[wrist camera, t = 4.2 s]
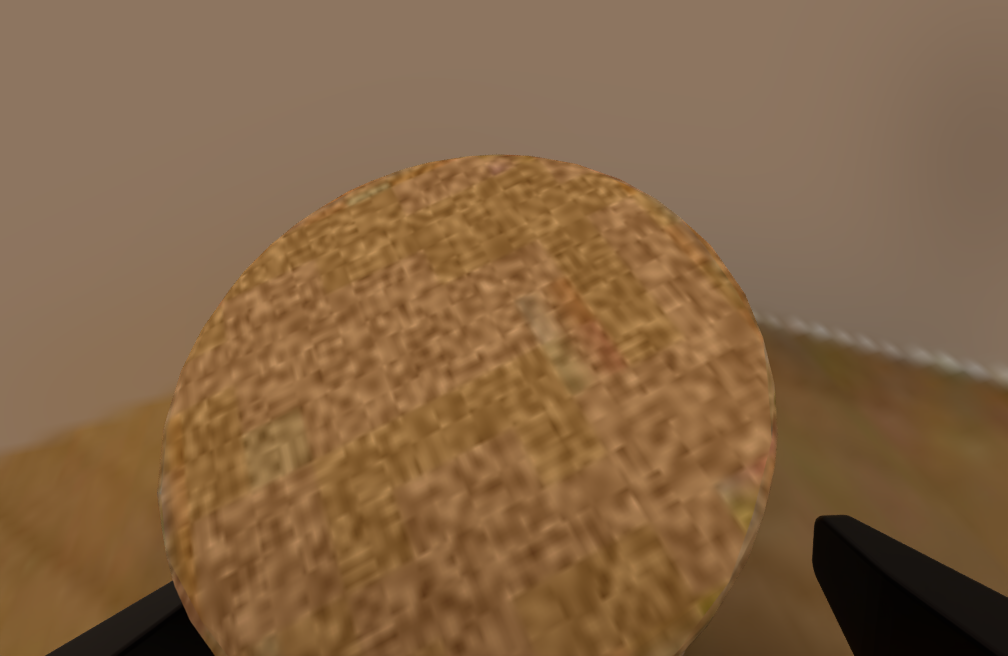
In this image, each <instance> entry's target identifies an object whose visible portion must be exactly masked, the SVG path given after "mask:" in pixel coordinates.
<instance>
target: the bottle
mask: <svg viewBox="0 0 1008 656" xmlns="http://www.w3.org/2000/svg"><path fill="white" fill-rule="evenodd" d="M777 437H778V431H777V415H776V400H775V385H774V381H773V377H772V373H771V369H770V365H769V361H768V356H767V352H766V348H765V344H764V340H763V337H762V334H761V332H760V329H759V327H758V324H757V322H756V320H755V317H754V315H753V312H752V310H751V308H750V305H749V303H748V300H747V298H746V295H745V294H744V292H743V291H742V289H741V288H740V286H739V285H738V283H737V282H736V281H735V279H734V278H733V276H732V275H731V273H730V272H729V271H728V269H727V268H726V266H725V265H724V263H723V262H722V260H720V258H719V256H718V255H717V254H716V253H715V251H714V249H713V248H712V247H711V245H709V244H708V243H707V242H706V241H705V240H704V239H703V238H702V237H701V236H700V235H699V234H698V233H696V232H695V231H694V230H693V229H692V228H691V227H690V226H689V225H688V224H686V223H685V222H684V221H683V220H682V219H681V218H680V217H679V216H677V215H676V214H675V213H673V212H672V211H671V210H669V209H668V208H667V207H666V206H664V205H663V204H661V202H659V201H658V200H657V199H655V198H653V197H652V196H650V195H648V194H646V193H644V192H642V191H640V190H639V189H637V188H635V187H633V186H631V185H629V184H627V183H626V182H624V181H622V180H620V179H617V178H614V177H612V176H609V175H606V174H603V173H600V172H598V171H595V170H592V169H589V168H586V167H583V166H581V165H578V164H573V163H567V162H562V161H557V160H551V159H545V158H540V157H533V156H520V155H480V156H467V157H460V158H454V159H447V160H441V161H435V162H429V163H426V164H422V165H418V166H414V167H411V168H406V169H403V170H400V171H397V172H394V173H392V174H389V175H386V176H384V177H381V178H378V179H376V180H373V181H370V182H368V183H366V184H364V185H361V186H359V187H357V188H355V189H353V190H350V191H348V192H347V193H345V194H343V195H341V196H340V197H338V198H336V199H335V200H333V201H331V202H330V203H328V204H326V205H325V206H323V207H321V208H320V209H318V210H317V211H315V212H313V213H312V214H310V215H309V216H308V217H306V218H304V219H303V220H301V221H300V222H298V223H297V224H296V225H295V226H293V227H292V228H291V229H290V230H288V231H287V232H286V233H285V234H283V235H282V236H281V237H280V238H279V239H277V240H276V241H275V242H273V243H272V244H271V245H270V246H269V247H268V248H267V249H266V250H265V251H264V252H263V253H262V254H261V255H260V256H259V257H258V258H257V259H256V260H255V261H254V262H253V263H252V264H251V265H250V266H249V267H248V268H247V269H246V270H245V271H244V272H243V273H242V275H241V276H240V277H239V279H238V280H237V281H236V282H235V284H234V285H233V286H232V287H231V289H230V290H229V291H228V293H227V294H226V296H225V297H224V299H223V300H222V302H221V303H220V304H219V306H218V307H217V309H216V310H215V311H214V313H213V314H212V316H211V317H210V319H209V320H208V321H207V323H206V324H205V326H204V327H203V329H202V330H201V332H200V334H199V336H198V338H197V340H196V342H195V344H194V346H193V348H192V350H191V352H190V354H189V356H188V358H187V360H186V362H185V364H184V366H183V368H182V370H181V373H180V376H179V379H178V383H177V386H176V389H175V393H174V396H173V399H172V403H171V406H170V409H169V413H168V416H167V420H166V423H165V426H164V430H163V440H162V450H161V460H160V470H159V480H158V490H157V495H158V502H159V510H160V517H161V524H162V531H163V537H164V543H165V549H166V555H167V559H168V563H169V567H170V571H171V574H172V578H173V582H174V586H175V588H176V590H177V593H178V595H179V597H180V599H181V601H182V604H183V606H184V608H185V610H186V612H187V615H188V617H189V619H190V621H191V623H192V624H193V625H194V627H195V628H196V630H197V631H198V632H199V634H200V635H201V637H202V638H203V639H204V641H205V642H206V644H207V645H208V647H209V648H210V649H211V651H212V652H213V654H214V655H215V656H680V655H681V654H682V653H683V652H684V651H685V650H686V648H687V647H688V646H689V645H690V644H691V643H692V642H693V641H694V640H695V639H696V638H697V637H698V636H699V634H700V633H701V632H702V631H703V630H704V629H705V628H706V627H707V625H708V624H709V622H710V621H711V619H712V618H713V616H714V615H715V613H716V612H717V610H718V608H719V607H720V605H721V603H722V602H723V600H724V598H725V597H726V595H727V593H728V592H729V590H730V589H731V587H732V585H733V584H734V582H735V580H736V579H737V577H738V575H739V574H740V572H741V570H742V569H743V567H744V565H745V564H746V562H747V560H748V558H749V555H750V552H751V549H752V546H753V544H754V541H755V538H756V535H757V532H758V529H759V527H760V524H761V521H762V518H763V515H764V512H765V508H766V504H767V500H768V496H769V493H770V488H771V483H772V477H773V472H774V467H775V458H776V448H777Z"/></svg>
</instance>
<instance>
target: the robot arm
mask: <svg viewBox="0 0 1008 656" xmlns="http://www.w3.org/2000/svg"><path fill="white" fill-rule="evenodd" d="M812 563H813V569H814V572H815V575H816V578H817V580H818V582H819V584H820V586H821V588H822V590H823V592H824V594H825V596H826V599H827V601H828V603H829V605H830V607H831V609H832V611H833V613H834V615H835V617H836V619H837V621H838V623H839V625H840V627H841V629H842V632H843V634H844V636H845V638H846V640H847V642H848V644H849V646H850V648H851V650H852V652H853V654H854V656H1008V597H1006V596H1004V595H1002V594H1000V593H998V592H996V591H994V590H992V589H990V588H988V587H986V586H984V585H983V584H981V583H979V582H977V581H975V580H973V579H971V578H969V577H967V576H965V575H963V574H961V573H959V572H957V571H955V570H953V569H951V568H949V567H948V566H946V565H944V564H942V563H940V562H938V561H936V560H934V559H932V558H930V557H928V556H926V555H924V554H922V553H920V552H918V551H916V550H915V549H913V548H911V547H909V546H907V545H905V544H903V543H901V542H899V541H897V540H895V539H893V538H891V537H889V536H887V535H885V534H883V533H882V532H880V531H878V530H876V529H874V528H872V527H870V526H868V525H866V524H864V523H862V522H860V521H858V520H856V519H854V518H852V517H850V516H847V515H825V516H819V517H818V518H817V519H816V521H815V524H814V538H813V554H812ZM46 656H215V655H214V654H213V652H212V651H211V649H210V648H209V647H208V645H207V644H206V642H205V641H204V639H203V638H202V637H201V635H200V634H199V632H198V631H197V630H196V628H195V627H194V625H193V624H192V623H191V621H190V619H189V617H188V615H187V612H186V610H185V608H184V606H183V604H182V601H181V599H180V597H179V595H178V593H177V590H176V588H175V586H174V582H173V581H171V582H170V583H168V584H166V585H165V586H163V587H161V588H159V589H158V590H156V591H154V592H153V593H151V594H149V595H148V596H146V597H144V598H142V599H141V600H139V601H137V602H136V603H134V604H132V605H131V606H129V607H127V608H125V609H124V610H122V611H120V612H119V613H117V614H115V615H114V616H112V617H110V618H108V619H107V620H105V621H103V622H102V623H100V624H98V625H97V626H95V627H93V628H92V629H90V630H88V631H86V632H85V633H83V634H81V635H80V636H78V637H76V638H75V639H73V640H71V641H69V642H68V643H66V644H64V645H63V646H61V647H59V648H58V649H56V650H54V651H52V652H51V653H49V654H47V655H46Z"/></svg>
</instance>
